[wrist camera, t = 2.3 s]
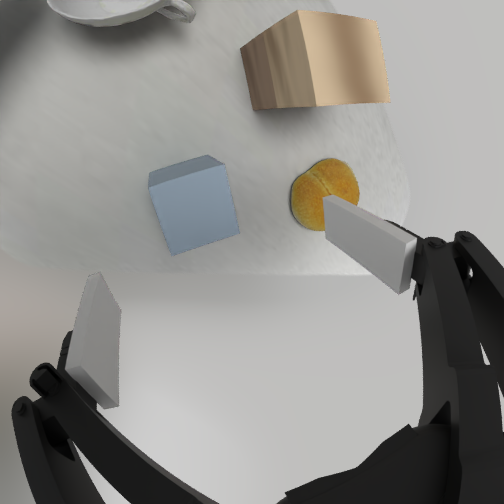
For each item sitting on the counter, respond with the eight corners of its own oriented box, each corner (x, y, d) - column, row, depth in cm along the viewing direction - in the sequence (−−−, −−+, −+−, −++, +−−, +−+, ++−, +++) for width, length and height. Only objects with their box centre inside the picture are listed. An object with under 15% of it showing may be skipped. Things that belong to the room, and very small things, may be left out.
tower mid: (277, 108, 20) (316, 106, 15) (262, 32, 17) (297, 10, 12) (344, 101, 22) (390, 102, 17) (332, 33, 18) (376, 21, 13)
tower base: (252, 110, 26) (277, 108, 20) (240, 48, 22) (262, 32, 17) (311, 102, 27) (344, 101, 22) (300, 45, 23) (332, 33, 18)
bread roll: (275, 191, 31) (291, 201, 27) (331, 146, 30) (352, 151, 27) (308, 240, 35) (324, 254, 32) (356, 198, 35) (376, 207, 32)
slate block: (166, 226, 28) (171, 256, 22) (149, 172, 25) (148, 187, 19) (220, 208, 29) (240, 233, 23) (207, 154, 26) (224, 164, 20)
